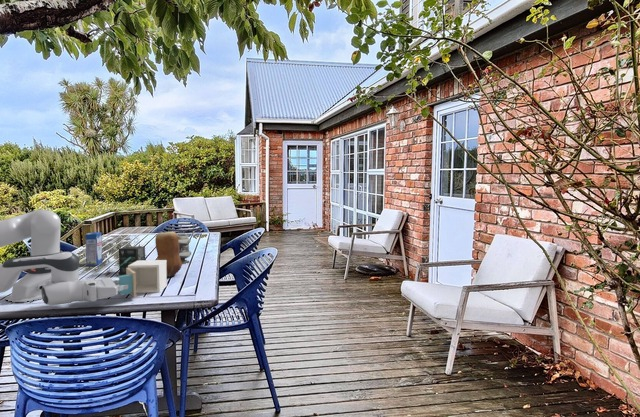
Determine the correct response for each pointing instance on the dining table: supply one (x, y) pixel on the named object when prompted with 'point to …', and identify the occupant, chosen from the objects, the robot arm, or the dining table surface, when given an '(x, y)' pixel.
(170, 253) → the butternut squash
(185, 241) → the apothecary jar
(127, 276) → the flap
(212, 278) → the dining table surface
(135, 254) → the tampon box
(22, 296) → the robot arm
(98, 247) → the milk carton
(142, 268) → the carton
